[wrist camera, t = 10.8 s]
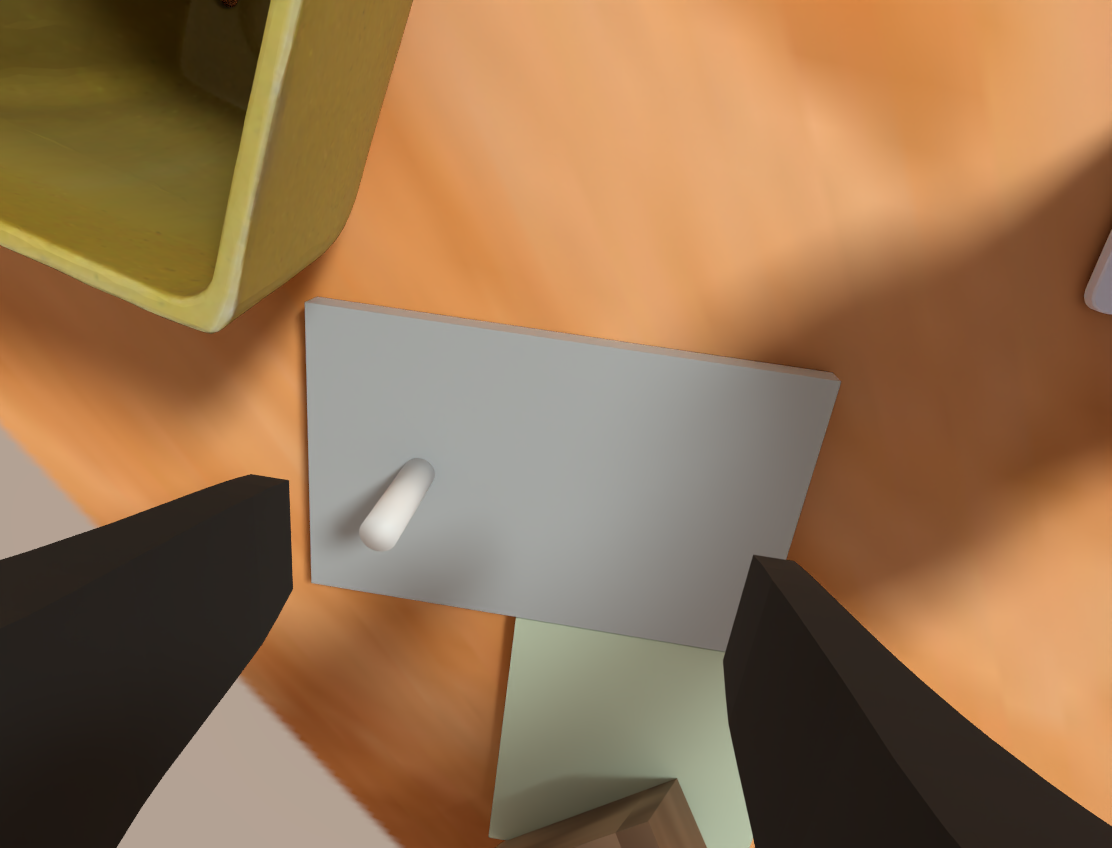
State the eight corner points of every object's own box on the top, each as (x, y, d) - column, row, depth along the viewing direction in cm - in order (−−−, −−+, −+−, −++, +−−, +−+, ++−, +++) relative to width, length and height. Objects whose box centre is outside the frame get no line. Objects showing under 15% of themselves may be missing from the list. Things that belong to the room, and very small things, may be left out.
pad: (809, 654, 22) (813, 667, 21) (734, 867, 26) (737, 882, 26) (518, 606, 22) (515, 617, 22) (491, 823, 27) (488, 837, 26)
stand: (832, 372, 18) (892, 432, 14) (751, 640, 22) (780, 748, 18) (317, 296, 19) (233, 333, 15) (321, 569, 23) (255, 658, 19)
